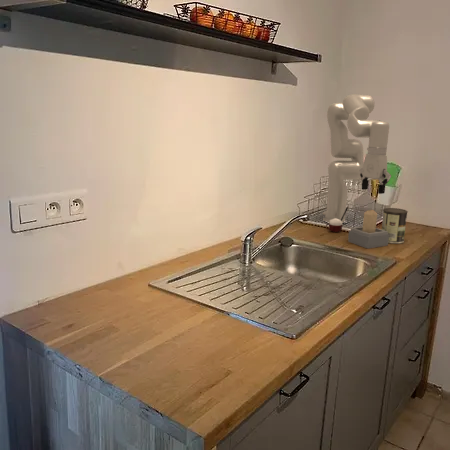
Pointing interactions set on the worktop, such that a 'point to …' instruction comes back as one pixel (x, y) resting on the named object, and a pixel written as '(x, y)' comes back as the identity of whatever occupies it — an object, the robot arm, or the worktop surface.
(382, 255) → the worktop surface
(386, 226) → the coffee can
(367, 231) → the candle
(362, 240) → the pedestal
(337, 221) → the cocoa
